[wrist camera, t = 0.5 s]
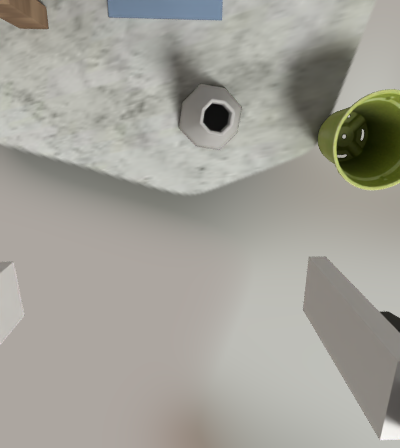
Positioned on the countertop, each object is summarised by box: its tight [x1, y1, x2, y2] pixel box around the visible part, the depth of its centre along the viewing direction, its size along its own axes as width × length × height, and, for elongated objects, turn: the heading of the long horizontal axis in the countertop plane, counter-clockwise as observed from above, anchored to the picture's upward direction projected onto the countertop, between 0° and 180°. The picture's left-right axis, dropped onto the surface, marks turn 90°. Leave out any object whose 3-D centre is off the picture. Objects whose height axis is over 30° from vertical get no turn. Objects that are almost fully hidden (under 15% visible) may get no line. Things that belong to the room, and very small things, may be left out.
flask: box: [179, 84, 242, 150], centre depth 34 cm, size 7×7×10 cm
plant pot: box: [318, 89, 400, 190], centre depth 35 cm, size 9×9×9 cm
